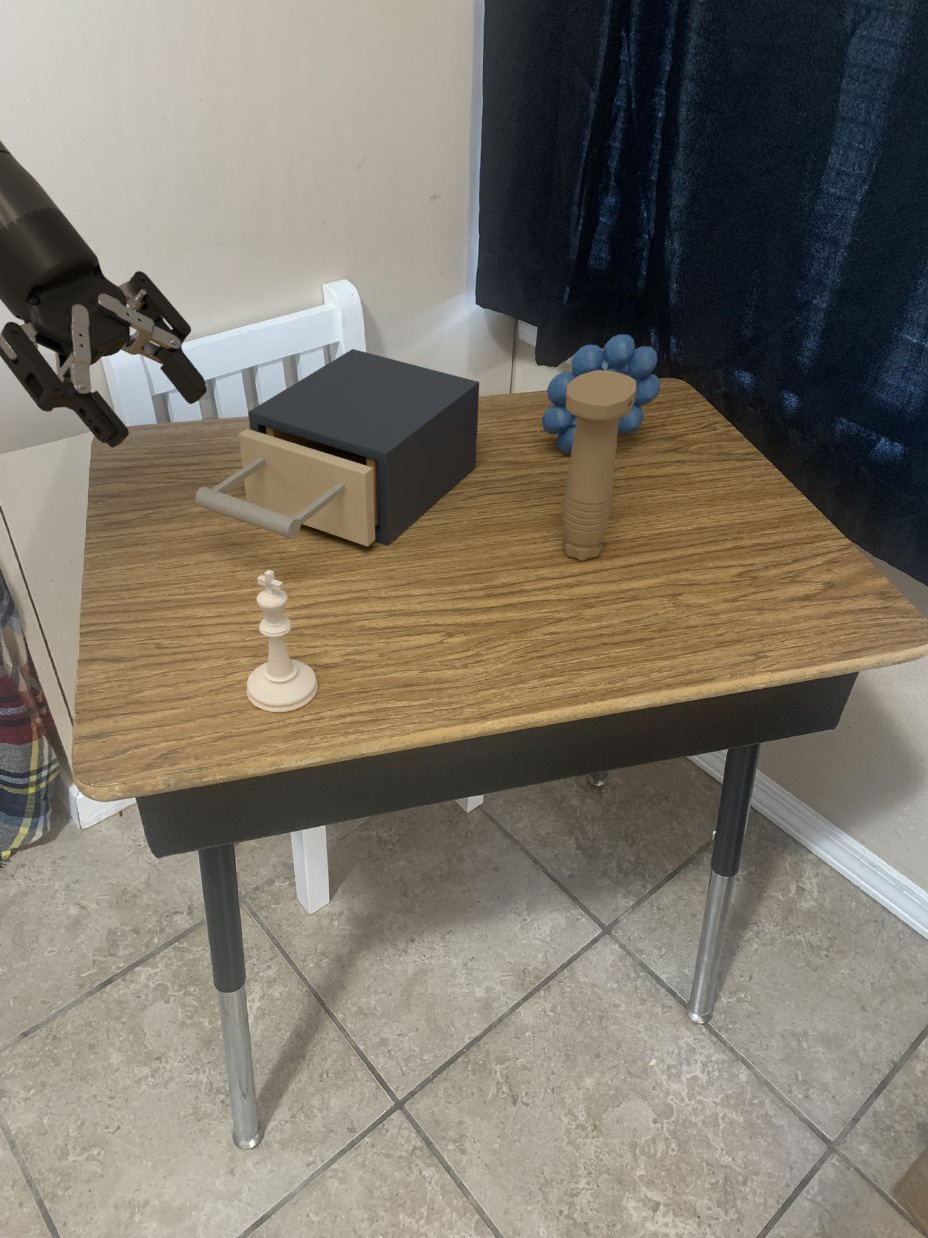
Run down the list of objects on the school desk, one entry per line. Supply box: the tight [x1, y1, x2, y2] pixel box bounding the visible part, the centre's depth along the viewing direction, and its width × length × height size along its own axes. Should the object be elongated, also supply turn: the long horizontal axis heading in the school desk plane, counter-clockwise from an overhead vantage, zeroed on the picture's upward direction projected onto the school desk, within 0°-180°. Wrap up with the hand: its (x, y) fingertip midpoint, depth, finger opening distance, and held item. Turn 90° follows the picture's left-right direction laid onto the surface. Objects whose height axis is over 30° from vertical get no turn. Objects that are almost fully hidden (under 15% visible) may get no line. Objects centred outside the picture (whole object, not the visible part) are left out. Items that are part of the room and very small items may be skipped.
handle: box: [562, 370, 636, 562], centre depth 79 cm, size 5×6×15 cm
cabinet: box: [247, 348, 480, 546], centre depth 88 cm, size 16×14×9 cm
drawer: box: [194, 427, 379, 547], centre depth 84 cm, size 22×13×7 cm, turn 151°
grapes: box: [541, 333, 661, 454], centre depth 94 cm, size 12×7×12 cm, turn 103°
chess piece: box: [246, 569, 319, 713], centre depth 66 cm, size 5×5×10 cm
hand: (162, 418), depth 75 cm, fingers open, 8 cm apart
